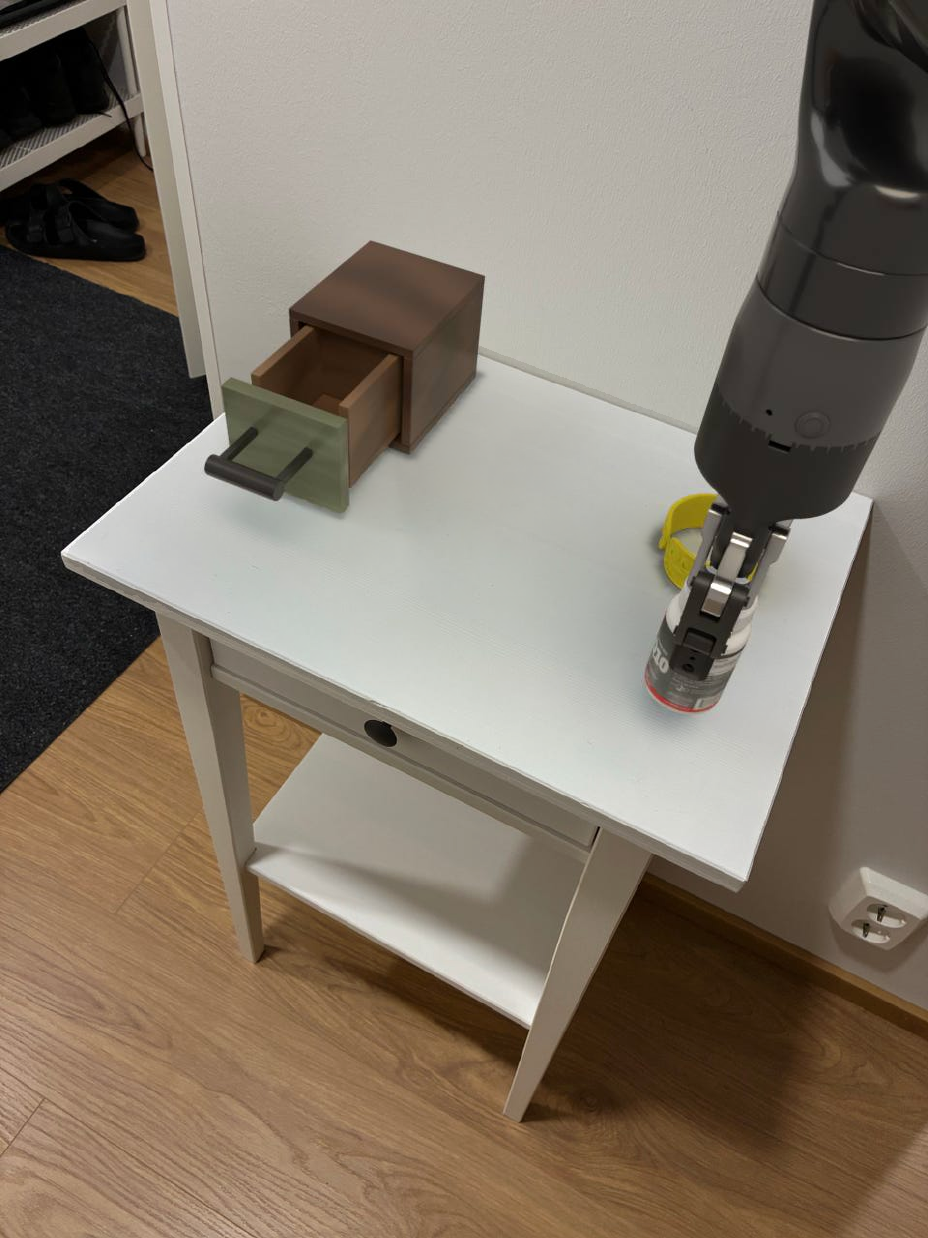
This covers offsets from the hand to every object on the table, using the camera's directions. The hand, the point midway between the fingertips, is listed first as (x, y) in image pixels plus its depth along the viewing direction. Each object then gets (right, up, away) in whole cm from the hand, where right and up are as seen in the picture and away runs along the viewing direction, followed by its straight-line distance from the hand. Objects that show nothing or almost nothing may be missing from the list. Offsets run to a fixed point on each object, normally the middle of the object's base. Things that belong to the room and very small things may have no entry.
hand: (700, 638), depth 55 cm
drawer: (-25, +12, +19) cm, 34 cm away
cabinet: (-20, +20, +27) cm, 39 cm away
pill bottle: (0, -3, +3) cm, 5 cm away
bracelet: (+5, +5, +17) cm, 18 cm away
